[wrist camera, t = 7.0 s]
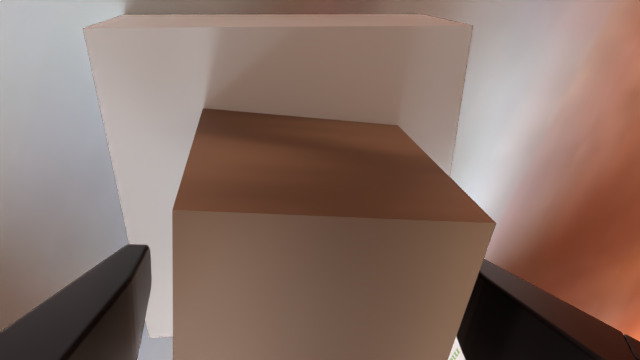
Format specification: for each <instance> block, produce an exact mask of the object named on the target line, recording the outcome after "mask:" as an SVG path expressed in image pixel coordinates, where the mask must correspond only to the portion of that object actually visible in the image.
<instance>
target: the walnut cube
mask: <svg viewBox="0 0 640 360" xmlns="http://www.w3.org/2000/svg"><path fill="white" fill-rule="evenodd" d="M495 225H496V223H495V222H494V221H493V220H492V219H491V218H490V217H489V216H488V215H487V214H486V213H485V212H484V211H483V210H482V209H481V208H480V207H479V206H478V205H477V204H476V203H475V202H474V201H473V200H472V199H471V198H470V197H469V196H468V195H467V194H466V193H465V192H464V191H463V190H462V189H461V188H460V187H459V186H458V185H457V184H456V183H455V182H454V181H453V180H452V179H451V178H450V177H449V176H448V175H447V174H446V173H445V172H444V171H443V170H442V169H441V168H440V167H439V166H438V165H437V164H436V163H435V162H434V161H433V160H432V159H431V158H430V157H429V156H428V155H427V154H426V153H425V152H424V151H423V150H422V149H421V148H420V147H419V146H418V145H417V144H416V143H415V142H414V141H413V140H412V139H411V138H410V137H409V136H408V135H407V134H406V133H405V132H404V131H403V130H402V129H401V128H400V127H399V126H398V125H388V124H377V123H365V122H354V121H343V120H331V119H320V118H308V117H297V116H286V115H274V114H263V113H252V112H240V111H229V110H217V109H206V108H203V110H202V113H201V116H200V120H199V123H198V126H197V130H196V133H195V136H194V140H193V143H192V146H191V149H190V153H189V156H188V159H187V163H186V166H185V169H184V173H183V176H182V179H181V183H180V186H179V189H178V193H177V196H176V199H175V203H174V206H173V209H172V248H173V360H448V358H449V355H450V352H451V349H452V347H453V344H454V341H455V338H456V335H457V333H458V330H459V327H460V324H461V321H462V318H463V316H464V313H465V310H466V307H467V304H468V302H469V299H470V296H471V293H472V290H473V287H474V285H475V282H476V279H477V276H478V273H479V271H480V268H481V265H482V262H483V259H484V256H485V254H486V251H487V248H488V245H489V242H490V240H491V237H492V234H493V231H494V228H495Z"/></svg>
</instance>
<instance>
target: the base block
mask: <svg viewBox="0 0 640 360" xmlns="http://www.w3.org/2000/svg"><path fill="white" fill-rule="evenodd" d="M472 29H473V25H468V24H464V23H459V22H455V21H450V20H446V19H441V18H437V17H432V16H428V15H423V14H155V15H121V16H118V17H115V18H112V19H109V20H106V21H103V22H100V23H97V24H94V25H91V26H88V27H84V28H83V31H84V36H85V41H86V45H87V50H88V55H89V59H90V64H91V69H92V73H93V78H94V83H95V87H96V92H97V97H98V101H99V106H100V111H101V115H102V120H103V125H104V129H105V134H106V139H107V143H108V148H109V153H110V157H111V162H112V167H113V171H114V176H115V181H116V185H117V190H118V195H119V199H120V204H121V209H122V213H123V218H124V223H125V227H126V232H127V237H128V241H129V244H145V245H148V246H149V247H150V252H151V275H152V283H151V291H150V297H149V302H148V307H147V312H146V317H145V321H146V325H147V330H148V335H149V339H150V338H160V337H169V336H173V248H172V209H173V206H174V203H175V199H176V196H177V193H178V189H179V186H180V183H181V179H182V176H183V173H184V169H185V166H186V163H187V159H188V156H189V153H190V149H191V146H192V143H193V140H194V136H195V133H196V130H197V126H198V123H199V120H200V116H201V113H202V110H203V108H206V109H217V110H229V111H240V112H252V113H263V114H274V115H286V116H297V117H308V118H320V119H331V120H343V121H354V122H365V123H377V124H388V125H398V126H399V127H400V128H401V129H402V130H403V131H404V132H405V133H406V134H407V135H408V136H409V137H410V138H411V139H412V140H413V141H414V142H415V143H416V144H417V145H418V146H419V147H420V148H421V149H422V150H423V151H424V152H425V153H426V154H427V155H428V156H429V157H430V158H431V159H432V160H433V161H434V162H435V163H436V164H437V165H438V166H439V167H440V168H441V169H442V170H443V171H444V172H445V173H446V174H447V175H448V176H449V177H450V172H451V166H452V159H453V153H454V146H455V140H456V133H457V127H458V120H459V114H460V107H461V100H462V94H463V87H464V81H465V74H466V68H467V61H468V55H469V48H470V42H471V35H472Z"/></svg>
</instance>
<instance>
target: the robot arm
mask: <svg viewBox="0 0 640 360" xmlns="http://www.w3.org/2000/svg"><path fill="white" fill-rule="evenodd" d="M151 283H152V275H151V252H150V247H149V246H148V245H145V244H128V245H126V246H124V247H123V248H121V249H120V250H118V251H117V252H115V253H114V254H112V255H111V256H110V257H108V258H107V259H105V260H104V261H102V262H101V263H99V264H98V265H96V266H95V267H94V268H92V269H91V270H89V271H88V272H86V273H85V274H83V275H82V276H81V277H79V278H78V279H76V280H75V281H73V282H72V283H70V284H69V285H68V286H66V287H65V288H63V289H62V290H60V291H59V292H57V293H56V294H54V295H53V296H52V297H50V298H49V299H47V300H46V301H44V302H43V303H41V304H40V305H39V306H37V307H36V308H34V309H33V310H31V311H30V312H28V313H27V314H26V315H24V316H23V317H21V318H20V319H18V320H17V321H15V322H14V323H12V324H11V325H10V326H8V327H7V328H5V329H4V330H2V331H1V332H0V360H137V357H138V352H139V348H140V343H141V338H142V333H143V328H144V322H145V317H146V312H147V307H148V302H149V297H150V291H151ZM456 337H457V340H458V343H459V345H460V348H461V351H462V353H463V355H464V357H465V360H640V342H639V341H638V340H636V339H634V338H632V337H630V336H628V335H623V333H622V332H620V331H619V330H617V329H615V328H613V327H611V326H609V325H607V324H605V323H604V322H602V321H600V320H598V319H596V318H594V317H592V316H590V315H589V314H587V313H585V312H583V311H581V310H579V309H577V308H575V307H574V306H572V305H570V304H568V303H566V302H564V301H562V300H560V299H559V298H557V297H555V296H553V295H551V294H549V293H547V292H545V291H544V290H542V289H540V288H538V287H536V286H534V285H532V284H530V283H529V282H527V281H525V280H523V279H521V278H519V277H517V276H515V275H514V274H512V273H510V272H508V271H506V270H504V269H502V268H500V267H499V266H497V265H495V264H493V263H491V262H489V261H487V260H485V259H483V262H482V265H481V268H480V271H479V273H478V276H477V279H476V282H475V285H474V287H473V290H472V293H471V296H470V299H469V302H468V304H467V307H466V310H465V313H464V316H463V318H462V321H461V324H460V327H459V330H458V333H457V335H456Z"/></svg>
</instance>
